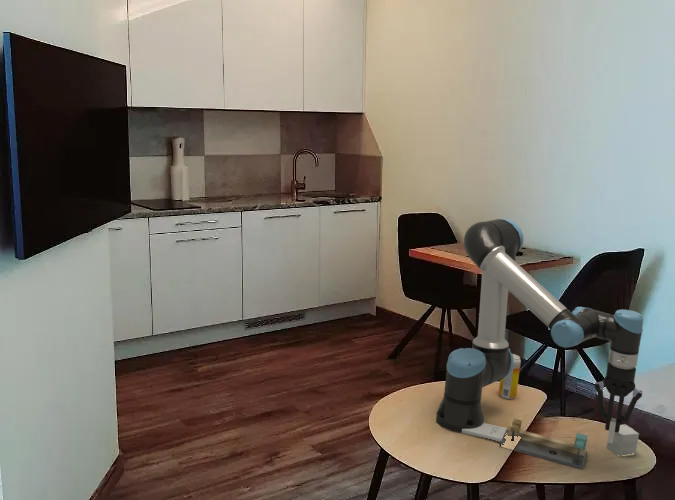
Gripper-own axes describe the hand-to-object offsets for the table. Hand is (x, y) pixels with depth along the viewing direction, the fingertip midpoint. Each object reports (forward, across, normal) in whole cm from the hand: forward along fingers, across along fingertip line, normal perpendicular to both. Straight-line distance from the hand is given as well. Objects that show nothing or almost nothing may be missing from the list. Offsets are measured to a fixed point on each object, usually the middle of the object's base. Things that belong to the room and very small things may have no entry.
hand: (610, 440), depth 200 cm
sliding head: (+6, -8, -1) cm, 10 cm away
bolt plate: (+7, -18, -2) cm, 19 cm away
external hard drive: (+7, -36, -1) cm, 37 cm away
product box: (+8, +3, +11) cm, 14 cm away
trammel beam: (+6, -18, -1) cm, 19 cm away
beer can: (+7, -36, +31) cm, 48 cm away
